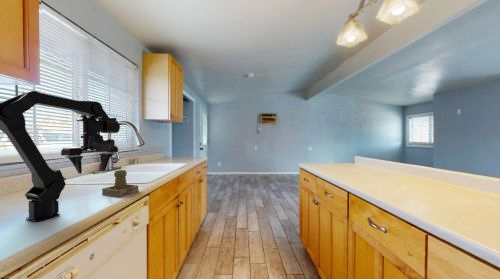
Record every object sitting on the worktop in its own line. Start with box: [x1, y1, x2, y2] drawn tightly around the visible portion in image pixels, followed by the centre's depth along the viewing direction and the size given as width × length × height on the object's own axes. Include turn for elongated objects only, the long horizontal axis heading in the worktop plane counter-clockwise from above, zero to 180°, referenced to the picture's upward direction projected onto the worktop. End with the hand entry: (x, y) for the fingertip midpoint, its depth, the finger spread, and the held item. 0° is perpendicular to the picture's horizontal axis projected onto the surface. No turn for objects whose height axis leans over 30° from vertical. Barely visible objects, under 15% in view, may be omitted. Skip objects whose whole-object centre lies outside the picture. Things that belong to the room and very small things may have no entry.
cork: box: [113, 169, 128, 190], centre depth 104 cm, size 6×6×11 cm
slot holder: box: [101, 183, 139, 198], centre depth 104 cm, size 11×11×3 cm
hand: (92, 171), depth 88 cm, fingers open, 9 cm apart
